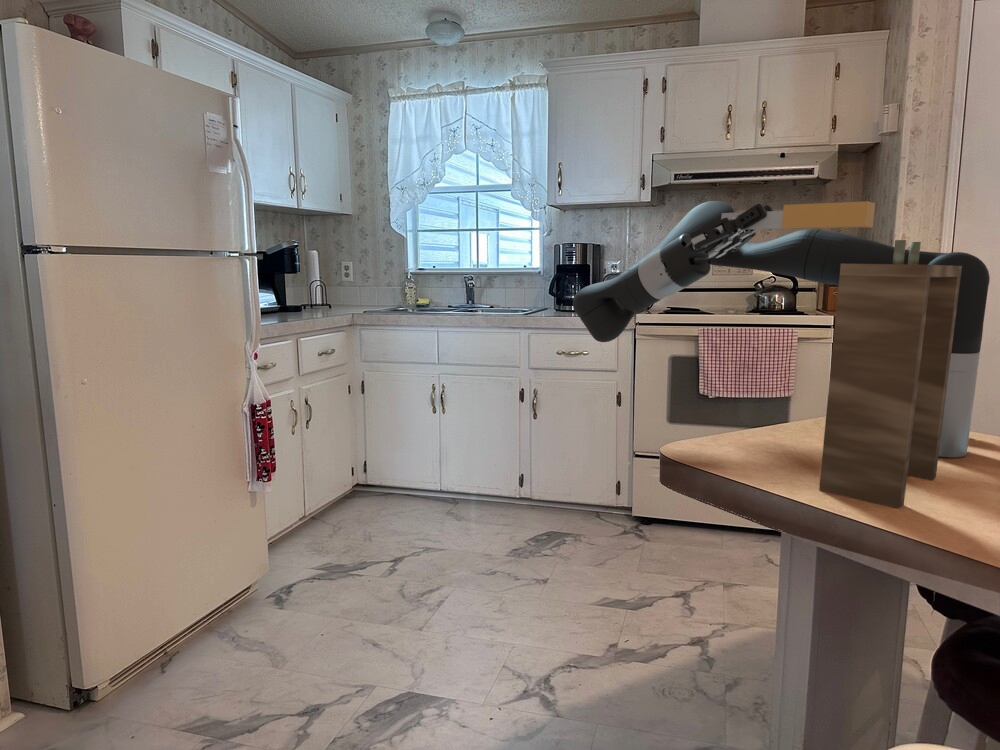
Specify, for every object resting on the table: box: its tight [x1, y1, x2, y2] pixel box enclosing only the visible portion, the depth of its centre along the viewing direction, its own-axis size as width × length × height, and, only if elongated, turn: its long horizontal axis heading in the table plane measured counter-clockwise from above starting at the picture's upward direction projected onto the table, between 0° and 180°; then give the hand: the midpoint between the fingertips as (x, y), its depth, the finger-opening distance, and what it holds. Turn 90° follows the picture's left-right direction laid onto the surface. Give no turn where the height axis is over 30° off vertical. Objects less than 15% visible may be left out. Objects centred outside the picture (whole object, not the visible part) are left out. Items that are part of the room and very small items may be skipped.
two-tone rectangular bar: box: [721, 200, 876, 231], centre depth 99 cm, size 3×20×3 cm, turn 46°
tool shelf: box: [818, 239, 962, 510], centre depth 96 cm, size 19×10×34 cm, turn 136°
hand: (767, 210), depth 101 cm, fingers closed on two-tone rectangular bar, 2 cm apart
